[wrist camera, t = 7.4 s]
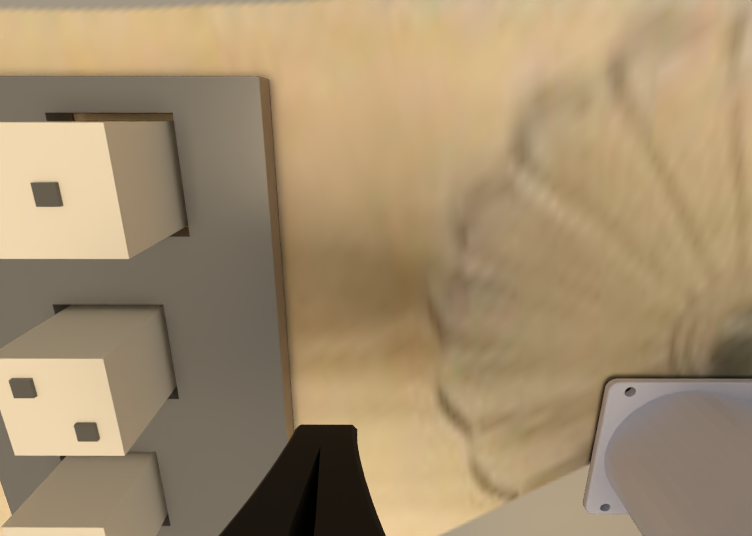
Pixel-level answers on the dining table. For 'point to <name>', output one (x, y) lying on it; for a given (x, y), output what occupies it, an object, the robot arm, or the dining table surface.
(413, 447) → the dining table surface
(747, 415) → the robot arm
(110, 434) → the key two
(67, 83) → the keypad board
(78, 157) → the key one
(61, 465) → the key three
